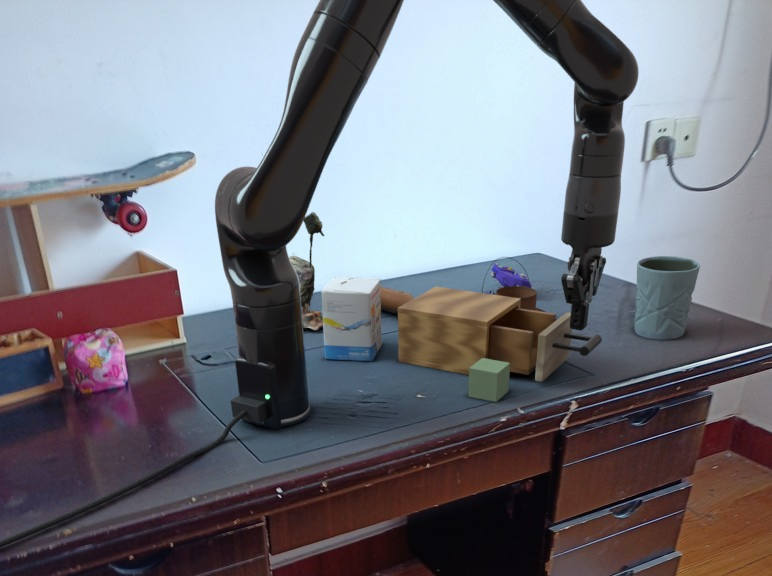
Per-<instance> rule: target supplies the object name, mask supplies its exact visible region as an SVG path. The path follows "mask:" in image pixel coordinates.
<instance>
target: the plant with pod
mask: <svg viewBox="0 0 772 576" xmlns="http://www.w3.org/2000/svg"><path fill="white" fill-rule="evenodd" d="M303 224H304V226H305V229H306V232H307V234H309V243H310V245H309V261H308V260H305V259H304V258H301V257H299V256H297V255H295V253H293V255H290V256H289V259H290V262H291V264H292V266H293V268H294V269H295V271H296V273H297V275H298V277H299V283H300V296H301V307H302V321H303V329H307V328H309V329H311V330H313V331H318V330H320V329H321V328H322V327H323V315H322V311H319V310H311V309H310V307H311V301H312V298H313V296H314V292H315V281H316V279H315V277H316V274H315V273H316V271H315V267H314V265H313V264H312V263H313V261H312V258H313V257H312V255H313V254H312V252H313V251H312V248H313V241H314V235H315V234H320V235H321V237H325V234H324V233H323V230H322V229H323V222H322V221H321V219H320V217H319V216H318V215H317V213H316V212H314V211H312V212H310V213H309V214H306V215H305V218H304V220H303Z"/></svg>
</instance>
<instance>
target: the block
mask: <svg viewBox="0 0 772 576" xmlns="http://www.w3.org/2000/svg"><path fill="white" fill-rule="evenodd" d="M509 387H510V363H508V362H502V361H496V360H491V359H485V358H482V359H480V360H479V361H478V362H476V363H475V364H474V365H472V366H471V367H470V368H469V375H468V392H467V393H468V398H473V399H478V400H483V401H489V402H494V403H497V402H498V401H499V400H500V399H501V398H503V397H504V396H505V395H506V394H507V393H508V392H509V389H510V388H509Z"/></svg>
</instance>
